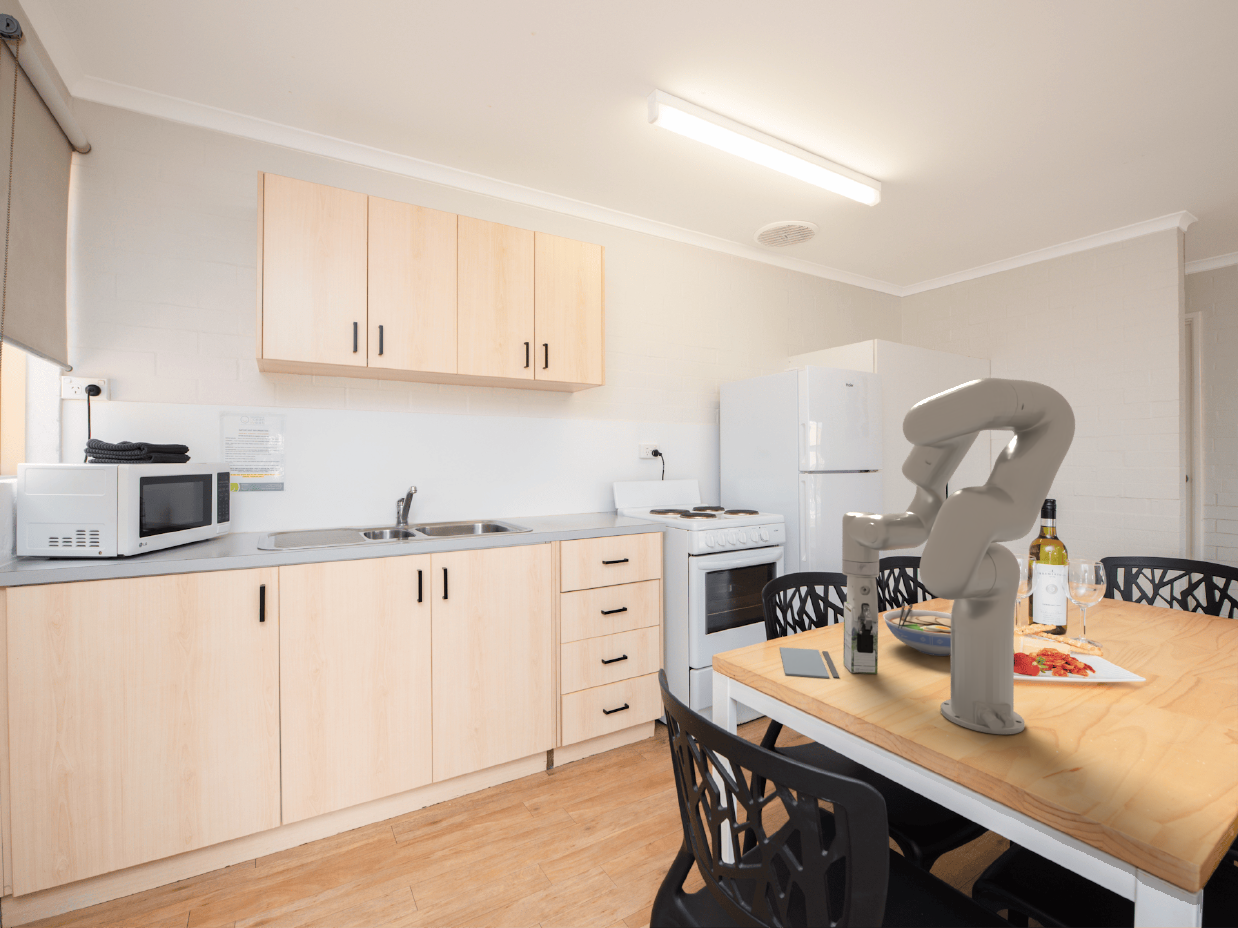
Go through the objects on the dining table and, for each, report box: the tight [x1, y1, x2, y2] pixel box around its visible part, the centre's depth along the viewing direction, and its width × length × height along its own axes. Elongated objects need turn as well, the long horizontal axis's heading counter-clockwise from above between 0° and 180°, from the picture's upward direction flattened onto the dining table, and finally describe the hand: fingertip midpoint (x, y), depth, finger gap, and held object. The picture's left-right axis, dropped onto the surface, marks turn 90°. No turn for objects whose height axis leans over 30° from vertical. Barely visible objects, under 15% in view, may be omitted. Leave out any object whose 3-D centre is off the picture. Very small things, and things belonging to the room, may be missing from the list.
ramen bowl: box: [882, 603, 951, 657], centre depth 140 cm, size 25×23×8 cm
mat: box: [779, 646, 830, 679], centre depth 132 cm, size 18×9×1 cm, turn 168°
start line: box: [822, 650, 840, 679], centre depth 131 cm, size 17×1×1 cm, turn 168°
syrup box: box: [843, 601, 879, 675], centre depth 127 cm, size 6×6×14 cm
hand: (860, 645), depth 127 cm, fingers open, 9 cm apart
